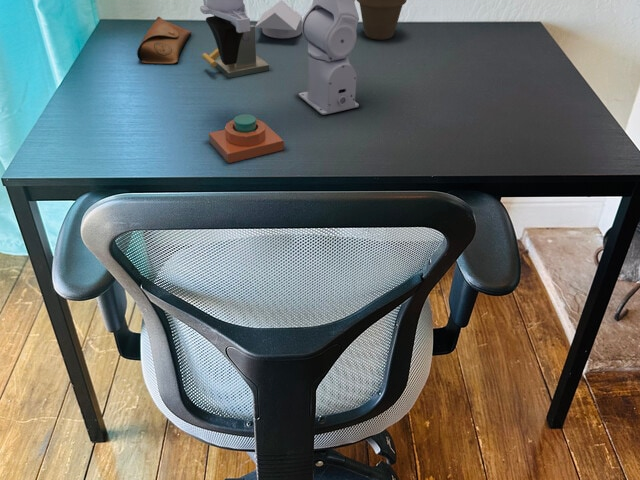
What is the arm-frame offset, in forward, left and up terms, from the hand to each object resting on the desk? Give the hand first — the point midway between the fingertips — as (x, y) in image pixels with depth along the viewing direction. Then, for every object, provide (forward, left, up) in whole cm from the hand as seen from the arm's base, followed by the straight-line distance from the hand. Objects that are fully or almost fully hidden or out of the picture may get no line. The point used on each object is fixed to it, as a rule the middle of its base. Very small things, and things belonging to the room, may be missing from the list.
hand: (229, 62), depth 111 cm
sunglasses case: (+38, -1, -11) cm, 40 cm away
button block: (-9, +2, -10) cm, 14 cm away
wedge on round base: (+35, -27, -11) cm, 46 cm away
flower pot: (+25, -47, -11) cm, 55 cm away
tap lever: (+21, -9, -6) cm, 24 cm away
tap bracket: (+21, -11, -10) cm, 26 cm away
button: (-9, +2, -7) cm, 12 cm away
